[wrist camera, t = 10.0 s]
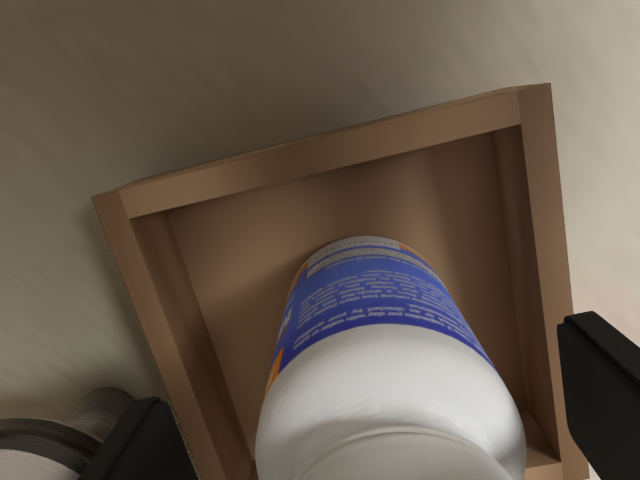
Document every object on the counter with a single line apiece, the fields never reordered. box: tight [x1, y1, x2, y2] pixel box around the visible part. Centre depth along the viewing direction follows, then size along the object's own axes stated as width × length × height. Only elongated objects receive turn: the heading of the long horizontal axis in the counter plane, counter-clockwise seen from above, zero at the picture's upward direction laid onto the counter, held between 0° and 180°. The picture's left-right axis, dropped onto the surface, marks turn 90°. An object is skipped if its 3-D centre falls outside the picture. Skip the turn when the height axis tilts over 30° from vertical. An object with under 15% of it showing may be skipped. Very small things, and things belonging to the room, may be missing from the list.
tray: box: [91, 83, 590, 480], centre depth 15 cm, size 12×12×3 cm
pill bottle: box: [255, 236, 527, 480], centre depth 11 cm, size 5×5×10 cm
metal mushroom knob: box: [0, 388, 135, 480], centre depth 15 cm, size 6×6×6 cm
